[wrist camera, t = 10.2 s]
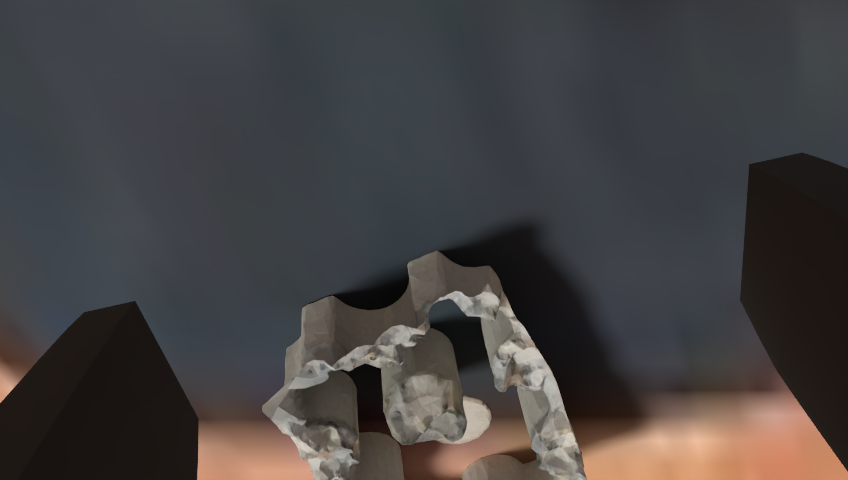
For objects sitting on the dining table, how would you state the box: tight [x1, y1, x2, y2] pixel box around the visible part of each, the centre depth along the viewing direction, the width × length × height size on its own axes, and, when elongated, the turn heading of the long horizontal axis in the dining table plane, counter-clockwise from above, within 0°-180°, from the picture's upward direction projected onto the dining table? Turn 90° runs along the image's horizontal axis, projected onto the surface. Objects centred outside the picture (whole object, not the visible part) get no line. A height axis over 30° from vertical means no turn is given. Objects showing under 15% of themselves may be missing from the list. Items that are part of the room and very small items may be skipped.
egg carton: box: [262, 251, 587, 480], centre depth 23 cm, size 11×8×4 cm
